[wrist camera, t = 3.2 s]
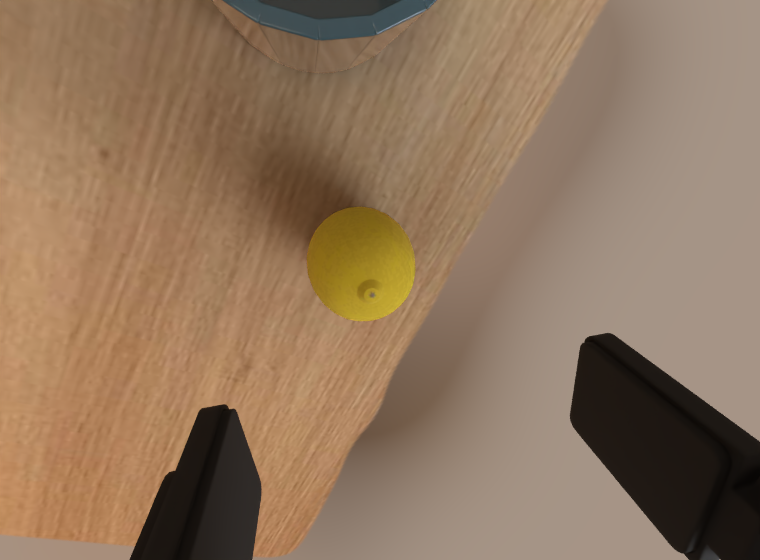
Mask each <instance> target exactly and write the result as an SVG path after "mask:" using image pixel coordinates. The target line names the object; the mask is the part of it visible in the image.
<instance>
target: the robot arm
mask: <svg viewBox="0 0 760 560" xmlns="http://www.w3.org/2000/svg"><path fill="white" fill-rule="evenodd" d="M570 420H571V423H572V425H573V427H574V429H575V430H576V431H577V433H578V434H579V435H580V436H581V438H582V439H583V440H584V441H585V442H586V444H587V445H588V446H589V447H590V448H591V449H592V451H593V452H594V453H595V454H596V456H597V457H598V458H599V459H600V460H601V462H602V463H603V464H604V465H605V466H606V468H607V469H608V470H609V471H610V472H611V474H612V475H613V476H614V477H615V479H616V480H617V481H618V482H619V483H620V485H621V486H622V487H623V488H624V489H625V491H626V492H627V493H628V494H629V495H630V496H631V498H632V499H633V500H634V501H635V503H636V504H637V505H638V506H639V508H640V509H641V510H642V511H643V512H644V514H645V515H646V516H647V517H648V518H649V520H650V521H651V522H652V523H653V524H654V525H655V527H656V528H657V529H658V530H659V532H660V533H661V534H662V535H663V536H664V538H665V539H666V540H667V541H668V543H669V544H670V545H671V546H672V547H673V548H674V549H675V550H677V551H678V552H680V553H684V554H685V556H686V557H687V558H688V559H689V560H719V559H721V560H760V442H759V441H758V440H757V439H755V438H754V437H753V436H751V435H750V434H748V433H747V432H746V431H744V430H743V429H742V428H740V427H739V426H737V425H736V424H735V423H733V422H732V421H731V420H729V419H728V418H727V417H725V416H724V415H723V414H721V413H720V412H718V411H717V410H716V409H714V408H713V407H712V406H710V405H709V404H708V403H706V402H705V401H703V400H702V399H701V398H699V397H698V396H697V395H695V394H693V393H692V392H691V391H690V390H688V389H687V388H685V387H684V386H683V385H682V384H680V383H679V382H677V381H676V380H675V379H673V378H672V377H671V376H669V375H668V374H667V373H665V372H664V371H662V370H661V369H660V368H658V367H657V366H656V365H654V364H653V363H651V362H650V361H649V360H647V359H646V358H645V357H643V356H642V355H641V354H639V353H638V352H637V351H635V350H634V349H632V348H631V347H630V346H628V345H627V344H625V343H624V342H623V341H621V340H620V339H619V338H617V337H616V336H615V335H613V334H611V333H605V334H600V335H595V336H589V337H587V338H586V339H585V342H584V343H582V345H581V346H580V352H579V359H578V365H577V372H576V378H575V385H574V392H573V399H572V405H571V412H570ZM260 501H261V481H260V478H259V475H258V472H257V469H256V466H255V463H254V461H253V458H252V455H251V452H250V449H249V446H248V443H247V440H246V437H245V435H244V432H243V429H242V426H241V423H240V420H239V417H238V414H237V412H236V410H235V409H229V408H228V406H227V405H225V404H223V405H218V406H212V407H207V408H202V409H201V410H200V411H199V413H198V415H197V418H196V420H195V423H194V425H193V428H192V430H191V433H190V435H189V438H188V440H187V443H186V445H185V448H184V450H183V453H182V456H181V458H180V461H179V463H178V466H177V468H176V471H172V472H169V473H168V474H167V475H166V476H165V478H164V480H163V482H162V484H161V486H160V488H159V491H158V493H157V495H156V498H155V500H154V503H153V505H152V507H151V510H150V512H149V515H148V517H147V519H146V522H145V524H144V526H143V529H142V531H141V534H140V536H139V538H138V541H137V543H136V546H135V548H134V550H133V553H132V555H131V557H130V560H252V557H253V550H254V543H255V536H256V529H257V522H258V515H259V508H260Z"/></svg>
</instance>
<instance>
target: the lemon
mask: <svg viewBox="0 0 760 560" xmlns="http://www.w3.org/2000/svg"><path fill="white" fill-rule="evenodd" d="M307 268H308V275H309V278H310V281H311V284H312V286H313V289H314V291H315V293H316V294H317V295H318V297H319V298H320V299H321V301H322V302H323V304H324V305H325V306H327V307H328V308H329V309H330V310H332V311H333V312H334V313H336V314H337V315H340V316H342V317H344V318H346V319H350V320H355V321H372V320H376V319H380V318H382V317H384V316H386V315H388V314H390V313H392V312H393V311H394V310H396V309H397V308H398V307H399V306H401V304H402V303H403V302H404V300H405V299H406V298H407V297H408V294H409V292H410V290H411V288H412V285H413V282H414V276H415V258H414V251H413V249H412V246H411V243H410V241H409V238H408V236H407V234H406V233H405V232H404V230H403V229H402V228H401V226H400V225H399V224H398V223H397V222H396V221H395V220H393V219H392V218H391V217H390V216H388V215H387V214H385V213H383V212H380V211H378V210H376V209H373V208H367V207H350V208H346V209H343V210H340V211H337V212H335V213H334V214H332V215H331V216H329V217H328V218H326V219H325V220H324V221H323V222H322V223H321V225H320V226H319V227H318V228H317V229H316V231H315V233H314V235H313V237H312V239H311V241H310V243H309V248H308V254H307Z"/></svg>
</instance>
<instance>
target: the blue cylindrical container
mask: <svg viewBox="0 0 760 560" xmlns="http://www.w3.org/2000/svg"><path fill="white" fill-rule="evenodd" d="M211 1H212V2H213V3H214V4H215V6H216V7H217V8H218V9H219V10H220V11H221V12H222V13H223V15H224V16H225V17H226V18H227V19H228V20H229V21H230V22H231V23H232V25H233V26H234V27H235V28H236V29H237V30H238V31H239V32H240V34H241V35H242V36H243V37H244V38H245V39H246V40H247V41H248V42H249V44H251V45H252V46H253V47H255V48H256V49H258V50H259V51H261V52H262V53H263V54H265V55H266V56H268V57H269V58H271V59H273V60H275V61H276V62H278V63H280V64H283V65H284V66H287V67H290V68H293V69H296V70H300V71H304V72H311V73H333V72H339V71H344V70H348V69H350V68H352V67H355V66H357V65H359V64H361V63H363V62H365V61H367V60H368V59H370V58H372V57H374V56H375V55H377V54H378V53H379V52H380V51H381V50H382V49H384V48H385V47H386V46H387V45H388V44H389V43H390V42H392V41H393V40H394V39H395V38H396V37H397V36H398V35H400V34H401V33H402V32H403V31H404V30H405V29H406V28H407V27H409V26H410V25H411V24H412V23H413V22H414V21H415V20H417V19H418V18H419V17H420V16H421V15H422V14H423V13H425V12H426V11H427V10H428V9H429V8H430V7H431V6H432V5H433V4H434V3H435V2H436V1H437V0H211Z"/></svg>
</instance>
